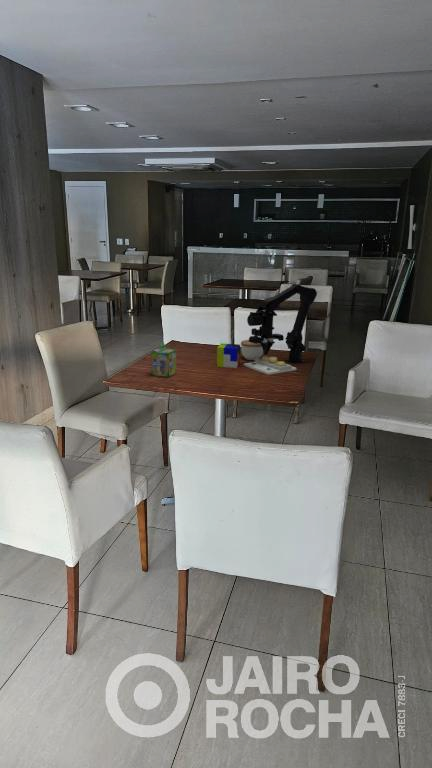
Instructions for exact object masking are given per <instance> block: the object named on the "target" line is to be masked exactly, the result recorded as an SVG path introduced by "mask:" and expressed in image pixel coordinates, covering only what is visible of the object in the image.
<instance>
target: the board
mask: <svg viewBox="0 0 432 768" xmlns="http://www.w3.org/2000/svg"><path fill="white" fill-rule="evenodd" d="M278 361H279V360H277V362H278ZM243 366H244V367H247V368H249V369H252V370H255V371H257V372H260V373H262V374H265V375H268V376H269V375H274V374H275V375H276V374H279V373H280V374H281V373H285V372H291V371H292V372H293V371H297V367H295V366H292V365H291V364H288V363H285V366H282V367H280V366H277V363H275V364H272V363H269V361H262V357H260V358H259V359H255V360H254V361H253V362H246V363H243Z"/></svg>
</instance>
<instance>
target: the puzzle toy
mask: <svg viewBox="0 0 432 768" xmlns="http://www.w3.org/2000/svg"><path fill="white" fill-rule="evenodd" d="M216 348H217V349H216V351H217V352H216V355H217V356H216V367H218V368H233V369H234V368H235V369H237V368H238V367H239V365H240V358H241V344H235V343H220V344H219V345H218V346H217V347H216Z"/></svg>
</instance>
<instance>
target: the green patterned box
mask: <svg viewBox="0 0 432 768" xmlns="http://www.w3.org/2000/svg"><path fill="white" fill-rule="evenodd" d="M159 347H160V348H156V349H154V350H152V351H151V352H150V358H151V376H153V377H154V376H156V377H165V378H169V377H171V376H174V375H175V374H177V349H172V348H171V349H170V348H166V345H165V342H162V343H160V344H159Z"/></svg>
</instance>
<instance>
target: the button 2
mask: <svg viewBox="0 0 432 768" xmlns="http://www.w3.org/2000/svg"><path fill="white" fill-rule="evenodd" d="M277 361H278V362H277V366H280V367H282V366H285V364H286V363H285V362H286V361H282V360H281V361H280V360H277Z"/></svg>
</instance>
